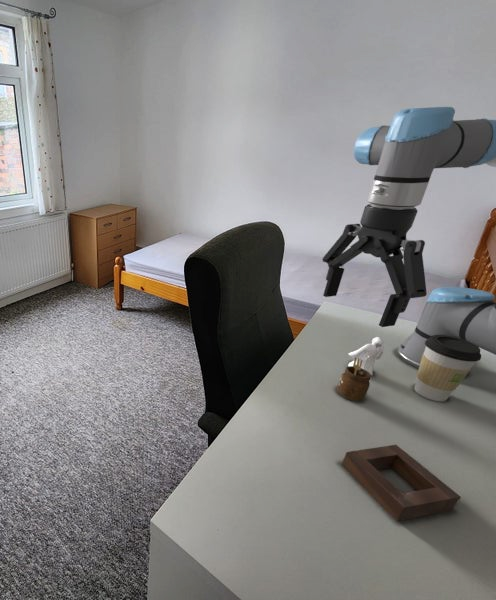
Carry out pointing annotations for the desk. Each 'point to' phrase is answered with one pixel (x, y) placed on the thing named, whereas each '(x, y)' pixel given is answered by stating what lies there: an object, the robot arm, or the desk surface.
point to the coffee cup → (444, 366)
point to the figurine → (368, 354)
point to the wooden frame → (402, 505)
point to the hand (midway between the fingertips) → (355, 309)
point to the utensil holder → (354, 382)
